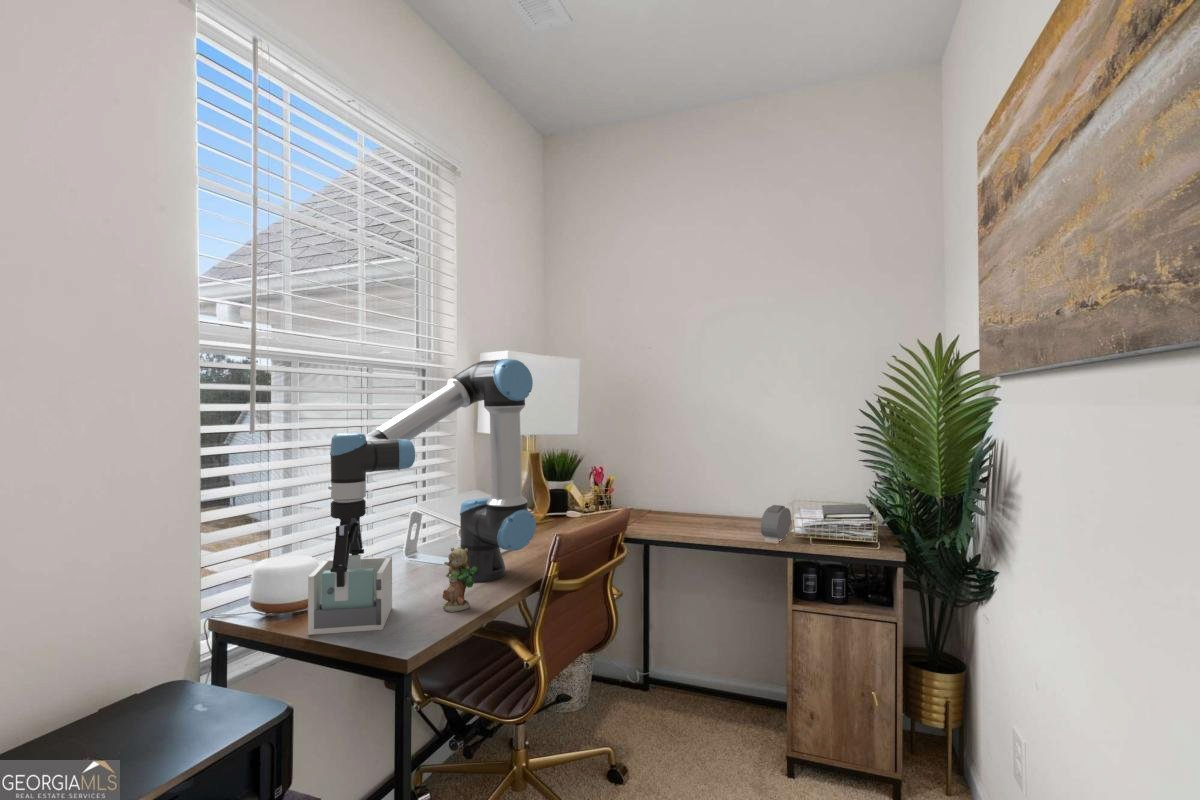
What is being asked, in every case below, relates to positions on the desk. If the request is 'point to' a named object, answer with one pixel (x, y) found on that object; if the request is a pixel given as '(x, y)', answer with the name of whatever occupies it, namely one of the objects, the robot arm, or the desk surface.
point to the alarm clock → (775, 523)
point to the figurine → (458, 580)
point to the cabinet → (351, 617)
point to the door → (349, 589)
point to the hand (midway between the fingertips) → (348, 590)
